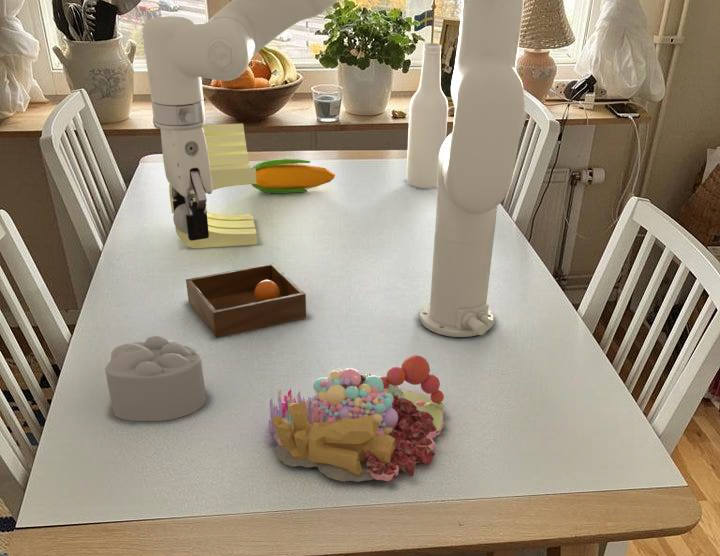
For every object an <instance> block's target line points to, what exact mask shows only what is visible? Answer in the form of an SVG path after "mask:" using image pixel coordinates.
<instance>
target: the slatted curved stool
mask: <svg viewBox="0 0 720 556" xmlns="http://www.w3.org/2000/svg"><path fill="white" fill-rule="evenodd" d="M202 127H203V130H204V135H205V139H206V144H207V150H208V156H209V163H210V171H211V178H212V186H213V191H215V190H219V189H222V188H228V187H229V188H230V187H236V186H244V185H245V186H246V185H251V184H257V181H256V168H253V167H251V165H250V159H249V154H248V148H247V140H246V135H245V127H244V123H222V124H219V123H218V124H204V125H202ZM168 184H169V185H168V192H169V193H168V194H169V201H170V209H171V214H174V207H173V201H176V200H173V198H172V186H171V184H170V183H168ZM204 192H205V191H204ZM191 194H194V190H191ZM206 194H207V193H206V192H205V195H206ZM192 199H193V201H195V198H192ZM207 220H208V231H209V237H208V238H206V239H200V240H194V241H191V240H189V238H188V234H185V233H183V232H181V231H179V230H178V229H177V228H176V226H175V225H174V226H175V227H174V229H175V232H176V235H177V237H178V238H179V240H180V241H181V242H182V243H183V244H184V245H185V246H187V247H189V248H192V249H204V248H205V249H207V248H220V247H222V248H223V247H238V246H253V245H254V246H255V245H258V243H259V242H258V233H257V229H256V224H255V220H254V216H253V214H252V213H249V214H248V213H247V214H219V213H211V212H208V211H207Z"/></svg>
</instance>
